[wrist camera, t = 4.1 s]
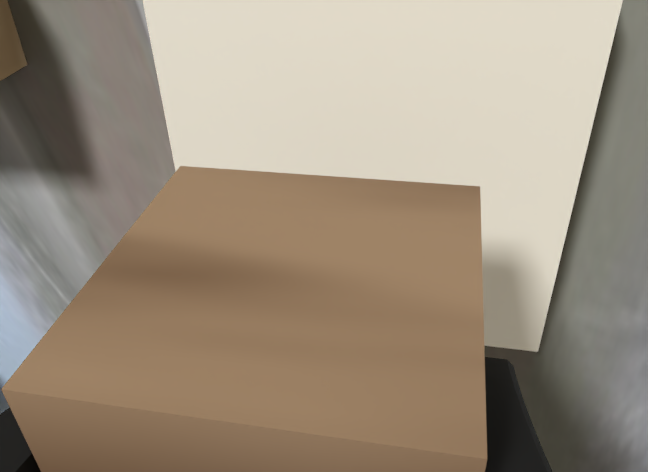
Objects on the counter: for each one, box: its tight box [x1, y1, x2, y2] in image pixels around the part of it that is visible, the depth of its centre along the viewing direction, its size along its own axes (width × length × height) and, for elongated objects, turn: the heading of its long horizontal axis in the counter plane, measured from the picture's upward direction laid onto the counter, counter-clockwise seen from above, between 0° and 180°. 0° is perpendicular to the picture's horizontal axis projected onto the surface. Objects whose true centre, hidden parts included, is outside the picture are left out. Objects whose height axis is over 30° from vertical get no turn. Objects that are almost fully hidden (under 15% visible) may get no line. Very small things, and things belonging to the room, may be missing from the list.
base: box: [143, 0, 623, 352], centre depth 16 cm, size 10×10×2 cm
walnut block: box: [1, 166, 487, 472], centre depth 9 cm, size 5×5×5 cm
